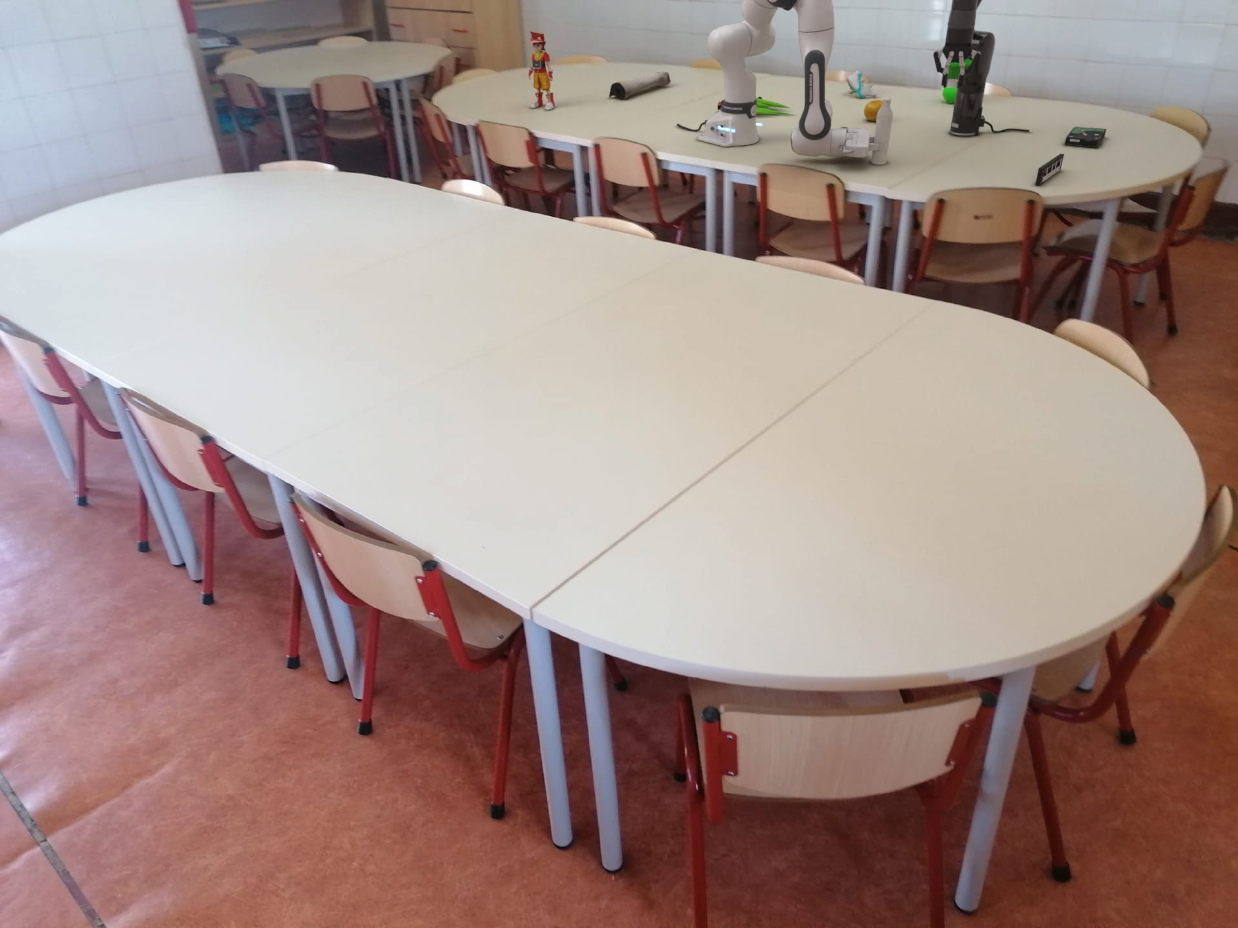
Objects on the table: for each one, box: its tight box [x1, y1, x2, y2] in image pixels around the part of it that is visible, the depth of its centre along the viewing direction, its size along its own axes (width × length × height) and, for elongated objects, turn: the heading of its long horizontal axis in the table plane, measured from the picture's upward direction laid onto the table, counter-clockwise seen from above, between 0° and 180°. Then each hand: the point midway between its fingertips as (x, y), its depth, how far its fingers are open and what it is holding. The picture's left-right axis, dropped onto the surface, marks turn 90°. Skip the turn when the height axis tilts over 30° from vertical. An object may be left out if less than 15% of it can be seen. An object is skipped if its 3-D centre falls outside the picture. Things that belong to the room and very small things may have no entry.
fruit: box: [863, 99, 883, 122], centre depth 337 cm, size 8×8×8 cm
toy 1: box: [527, 31, 556, 111], centre depth 374 cm, size 12×9×30 cm
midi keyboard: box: [1035, 153, 1065, 186], centre depth 273 cm, size 18×1×5 cm, turn 138°
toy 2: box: [716, 96, 794, 116], centre depth 357 cm, size 28×5×30 cm
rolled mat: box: [608, 71, 672, 101], centre depth 395 cm, size 30×9×10 cm
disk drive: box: [1064, 126, 1107, 148], centre depth 303 cm, size 10×3×15 cm
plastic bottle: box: [942, 60, 972, 104], centre depth 348 cm, size 10×10×25 cm
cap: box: [946, 79, 959, 88], centre depth 273 cm, size 4×4×2 cm
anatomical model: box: [846, 69, 878, 99], centre depth 370 cm, size 15×10×10 cm
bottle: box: [870, 97, 894, 166], centre depth 290 cm, size 5×5×20 cm
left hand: (883, 143), depth 292 cm, fingers closed on bottle, 5 cm apart
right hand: (951, 87), depth 273 cm, fingers closed on cap, 3 cm apart
